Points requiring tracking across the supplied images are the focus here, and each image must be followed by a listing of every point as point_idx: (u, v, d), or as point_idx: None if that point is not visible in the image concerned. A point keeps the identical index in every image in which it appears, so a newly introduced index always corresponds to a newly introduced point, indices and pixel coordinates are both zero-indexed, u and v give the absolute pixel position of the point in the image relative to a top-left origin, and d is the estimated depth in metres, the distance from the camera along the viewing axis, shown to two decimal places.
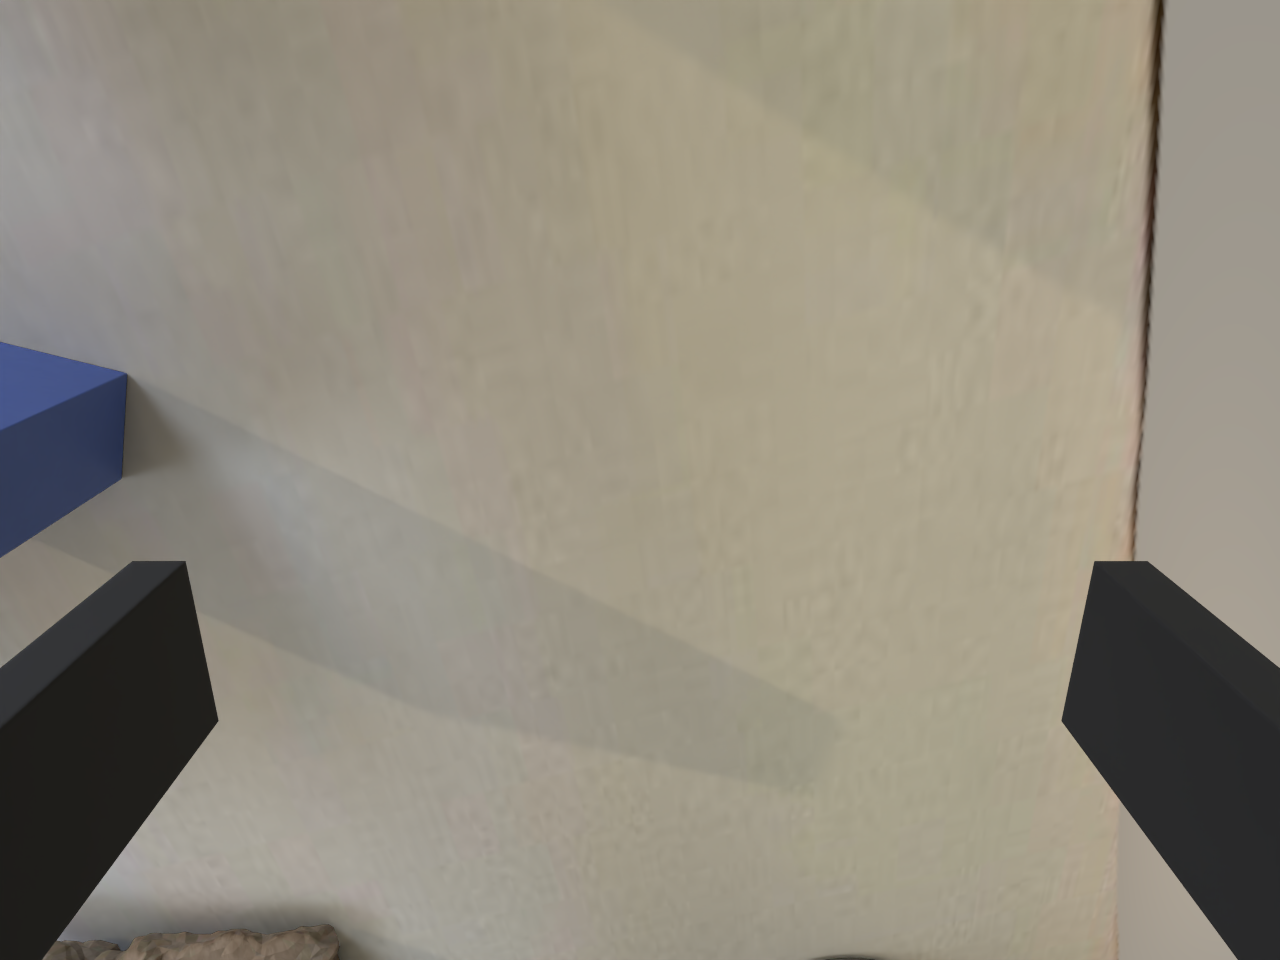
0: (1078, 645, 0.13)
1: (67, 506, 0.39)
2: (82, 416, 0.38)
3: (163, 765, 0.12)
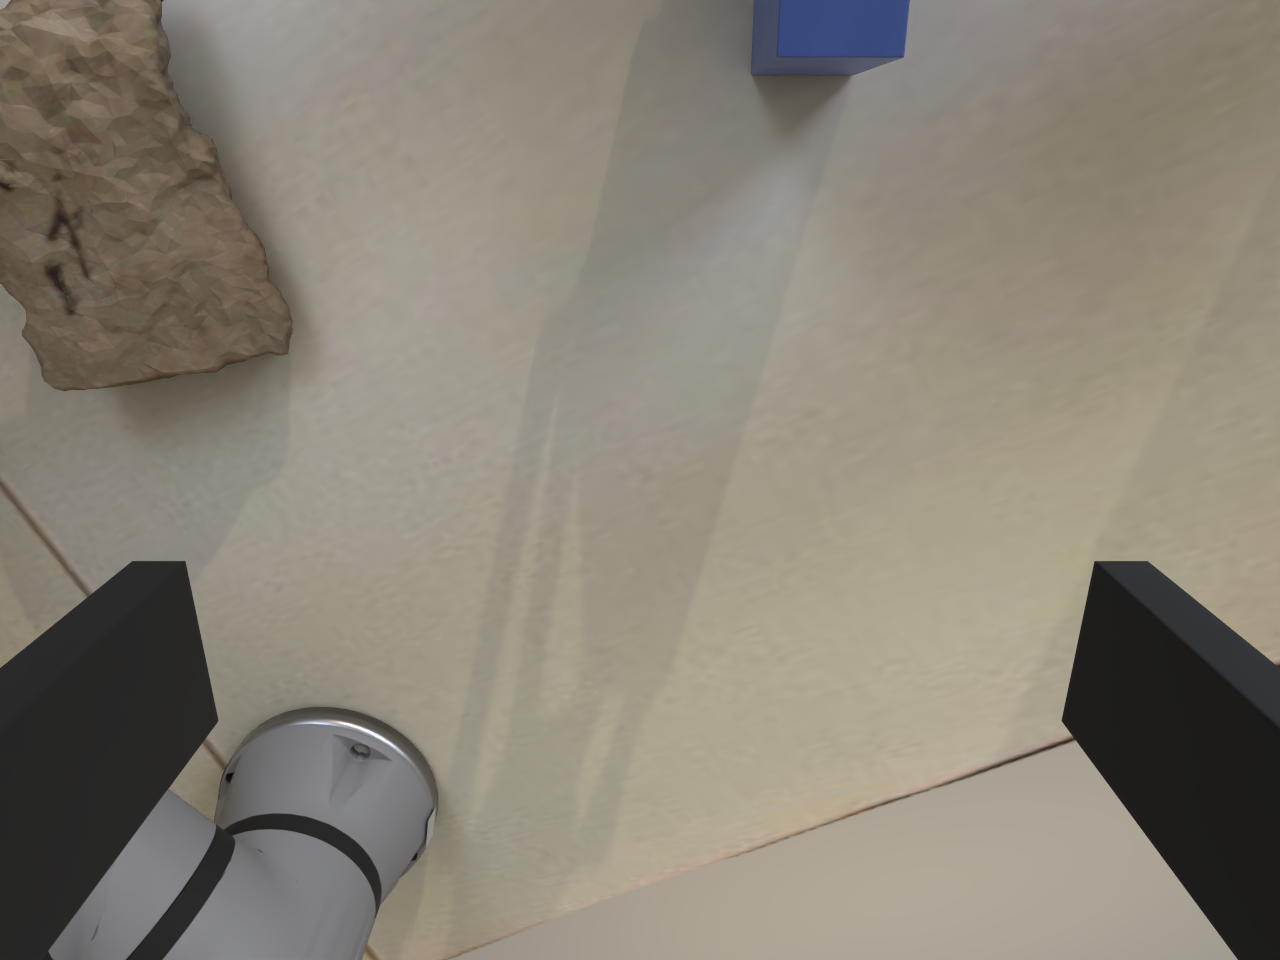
0: (1078, 645, 0.13)
1: (770, 67, 0.43)
2: (848, 69, 0.44)
3: (163, 765, 0.12)
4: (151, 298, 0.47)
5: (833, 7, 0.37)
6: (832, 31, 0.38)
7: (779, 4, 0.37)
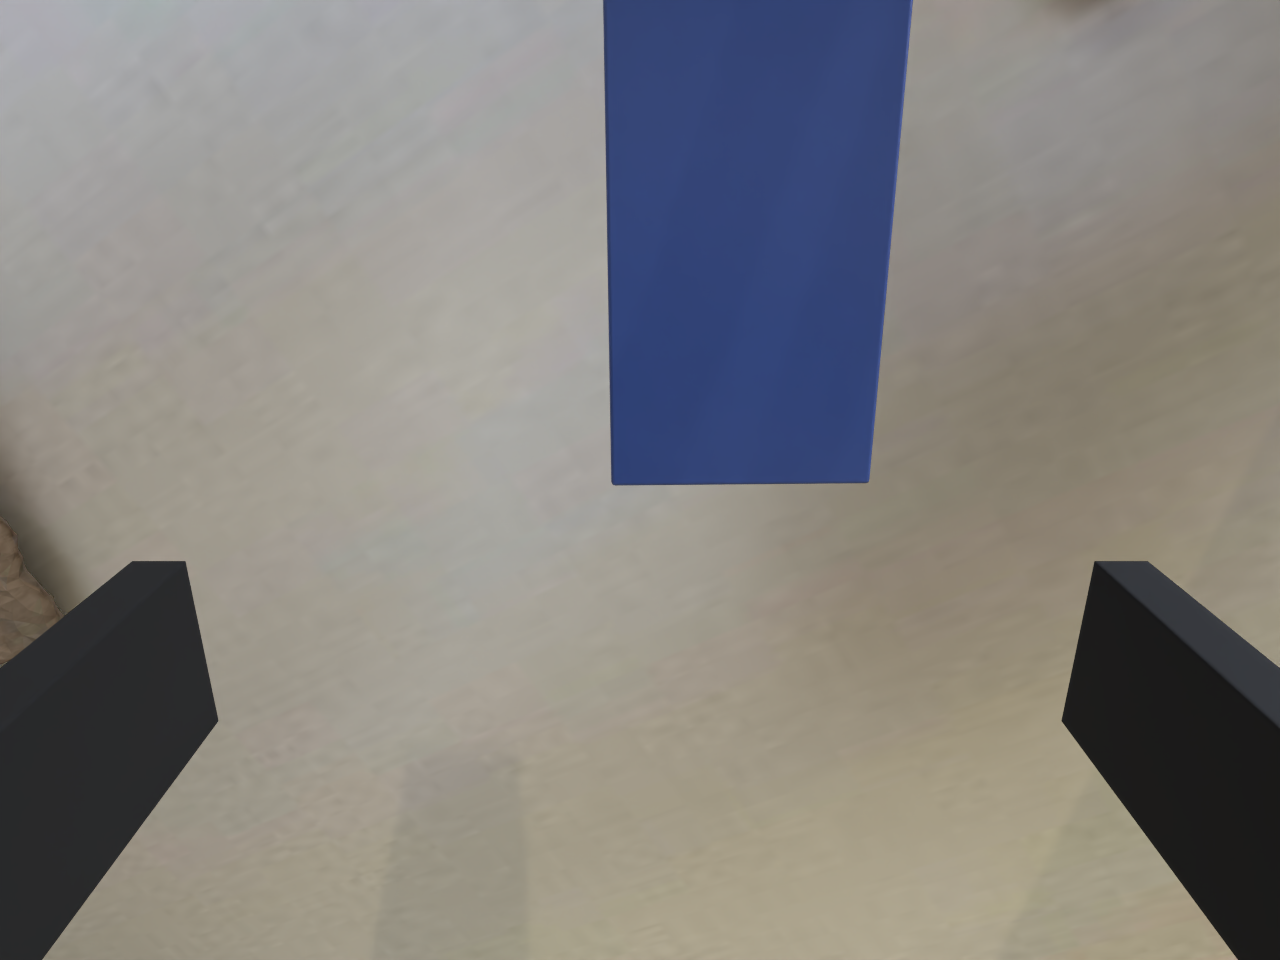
0: (1078, 645, 0.13)
1: None
2: None
3: (163, 766, 0.12)
4: None
5: (722, 398, 0.18)
6: (723, 440, 0.18)
7: (610, 392, 0.18)
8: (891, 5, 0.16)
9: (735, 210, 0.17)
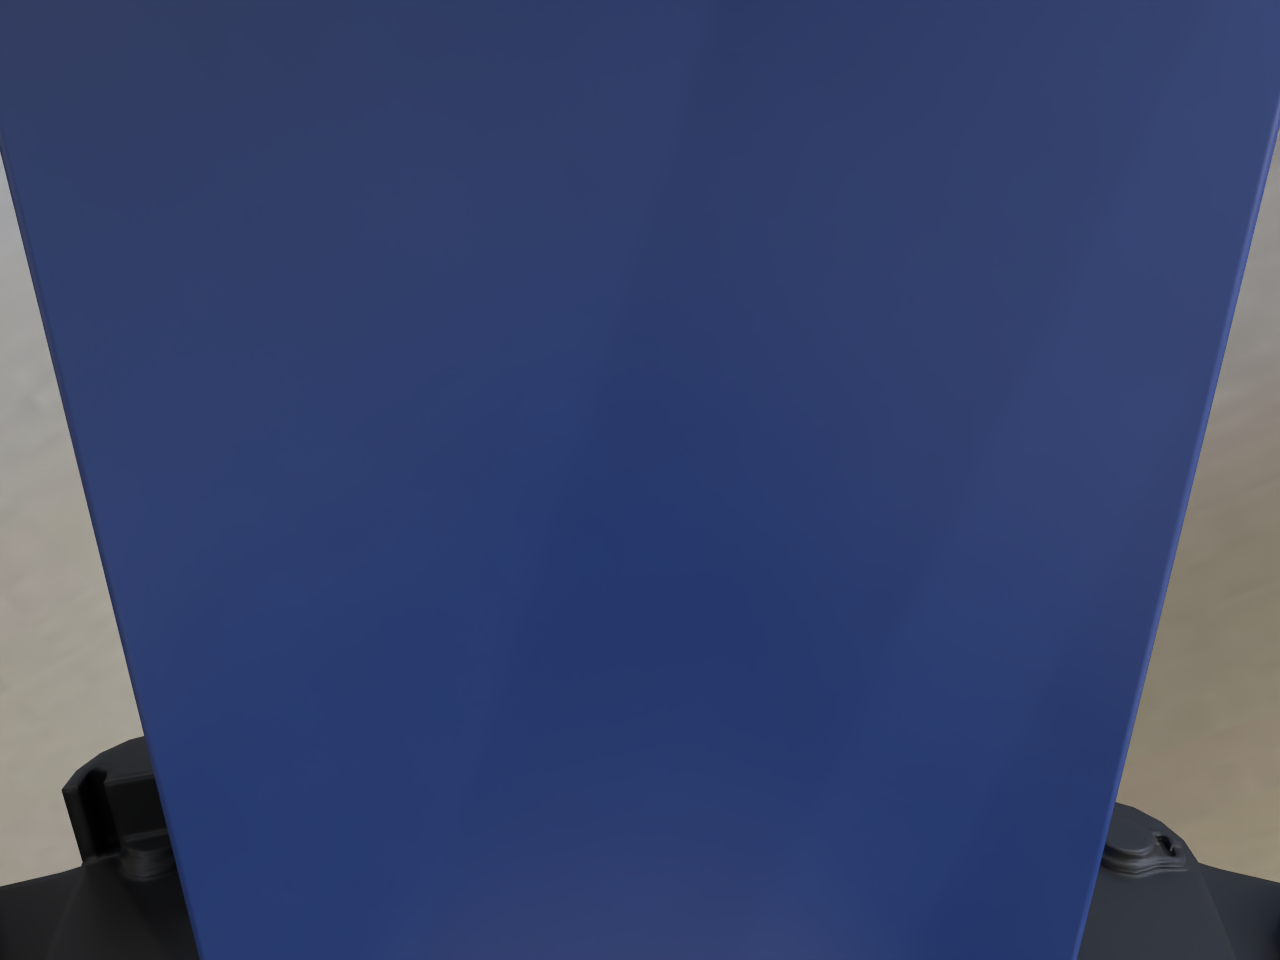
0: None
1: None
2: None
3: None
4: None
5: None
6: None
7: None
8: (1112, 515, 0.04)
9: None
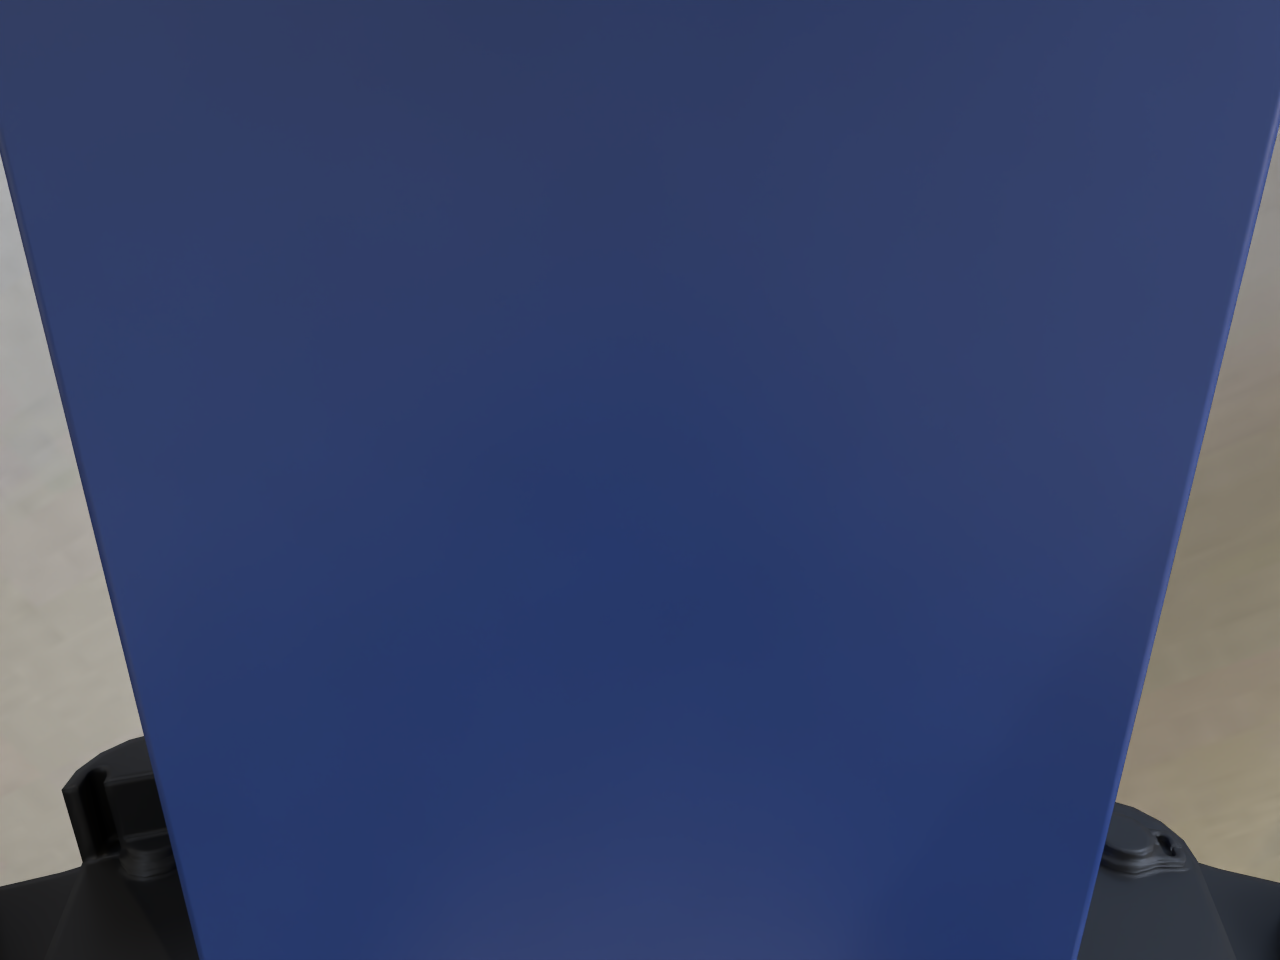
0: None
1: None
2: None
3: None
4: None
5: None
6: None
7: None
8: (1112, 514, 0.04)
9: None
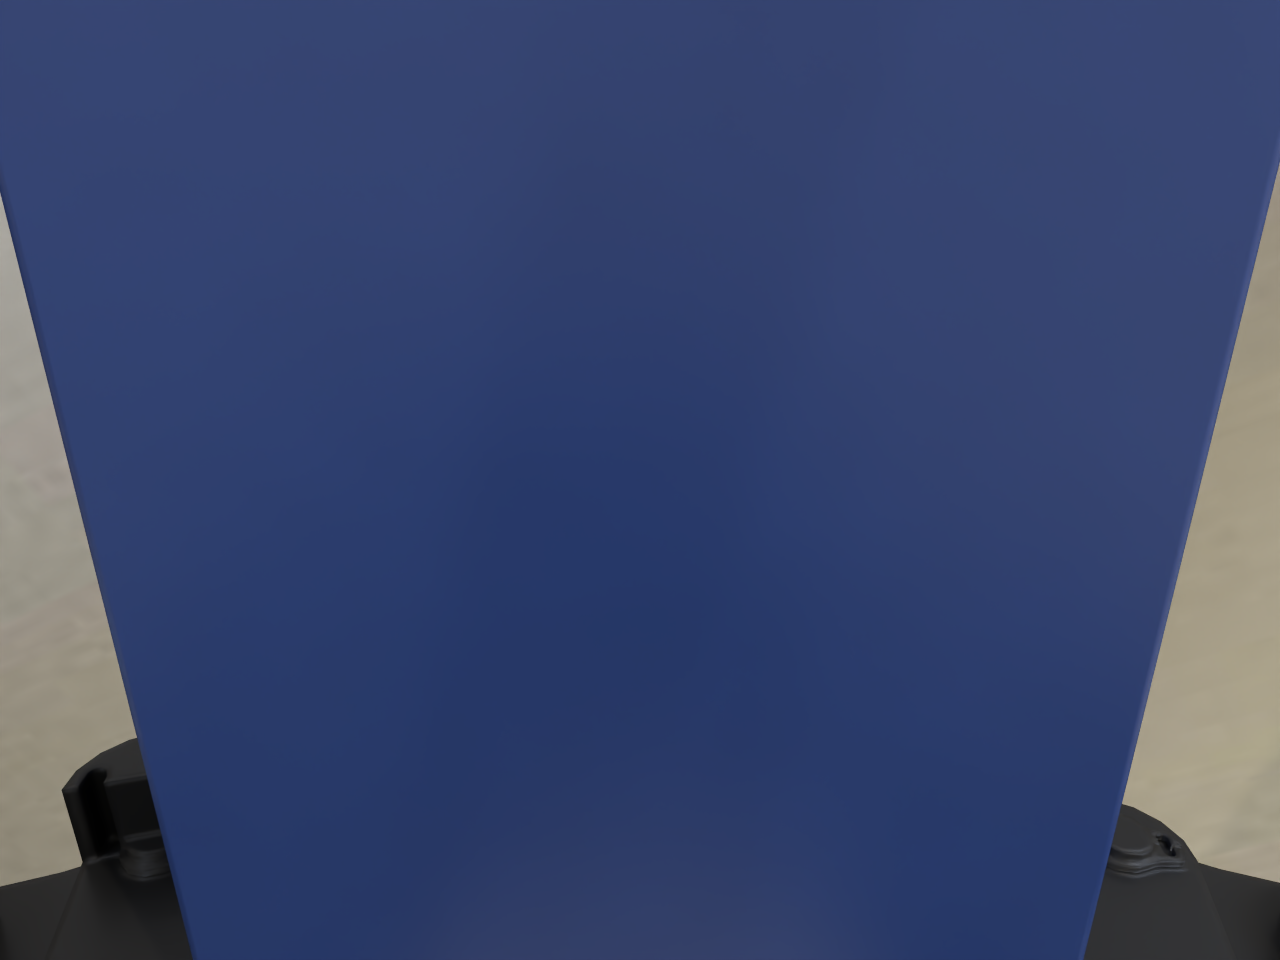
0: None
1: None
2: None
3: None
4: None
5: None
6: None
7: None
8: (1117, 523, 0.04)
9: None
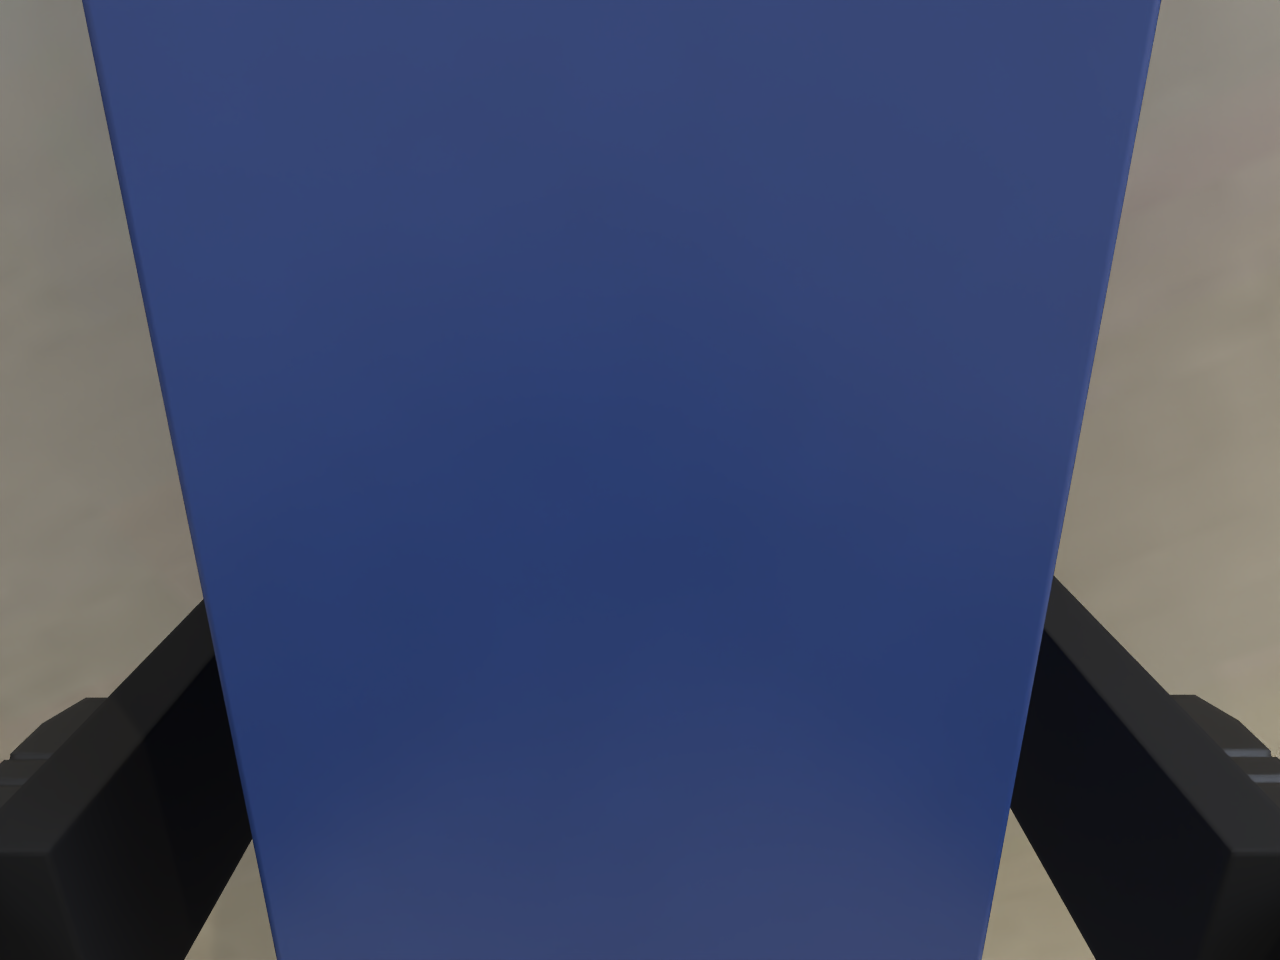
0: None
1: None
2: None
3: None
4: None
5: None
6: None
7: None
8: (1013, 470, 0.05)
9: (589, 906, 0.07)
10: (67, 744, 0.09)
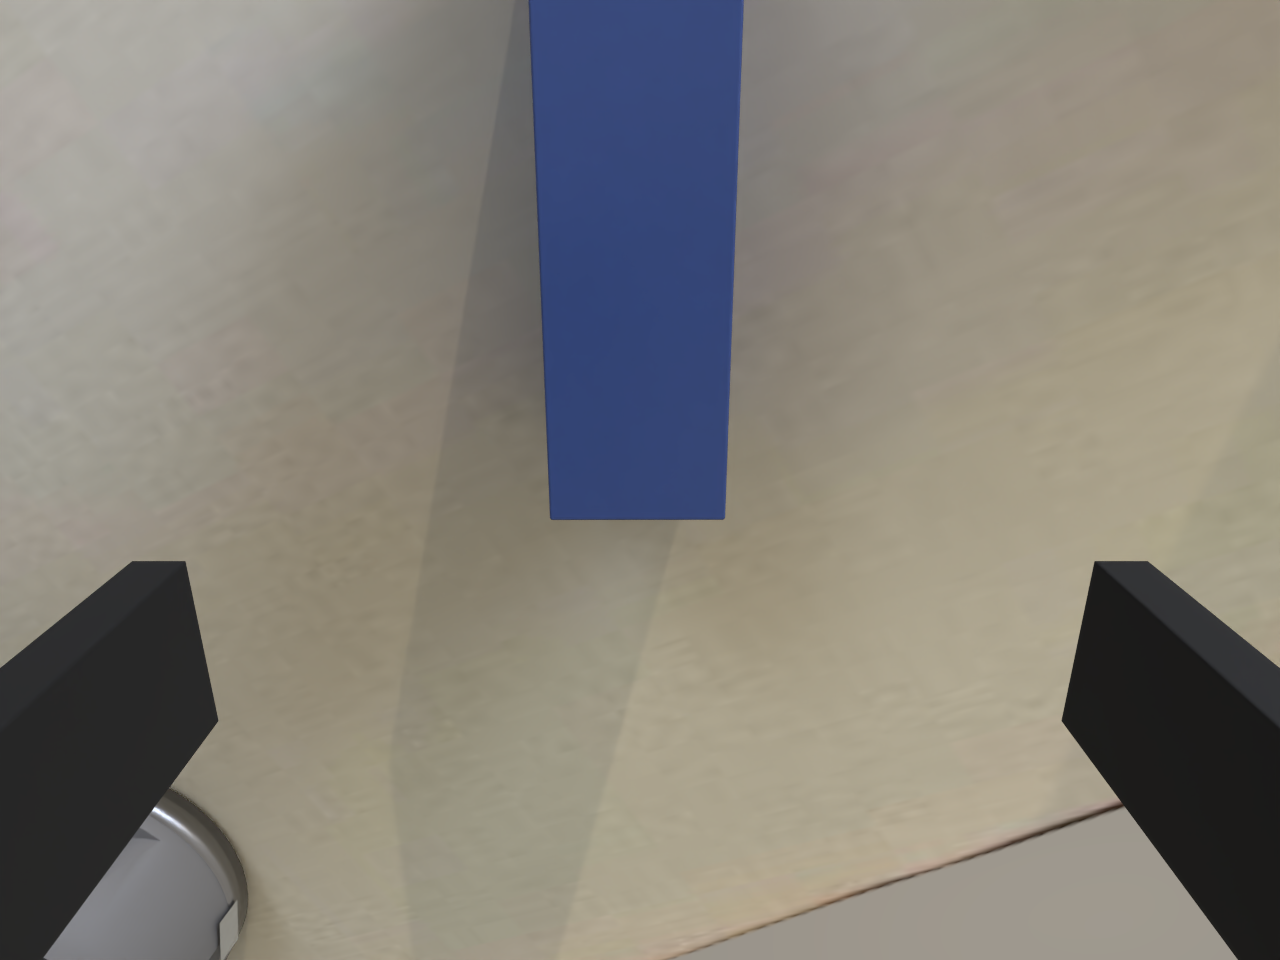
0: (1078, 645, 0.13)
1: None
2: None
3: (162, 765, 0.12)
4: None
5: (623, 464, 0.27)
6: (624, 490, 0.27)
7: (548, 458, 0.27)
8: (721, 220, 0.25)
9: (626, 344, 0.26)
10: None
